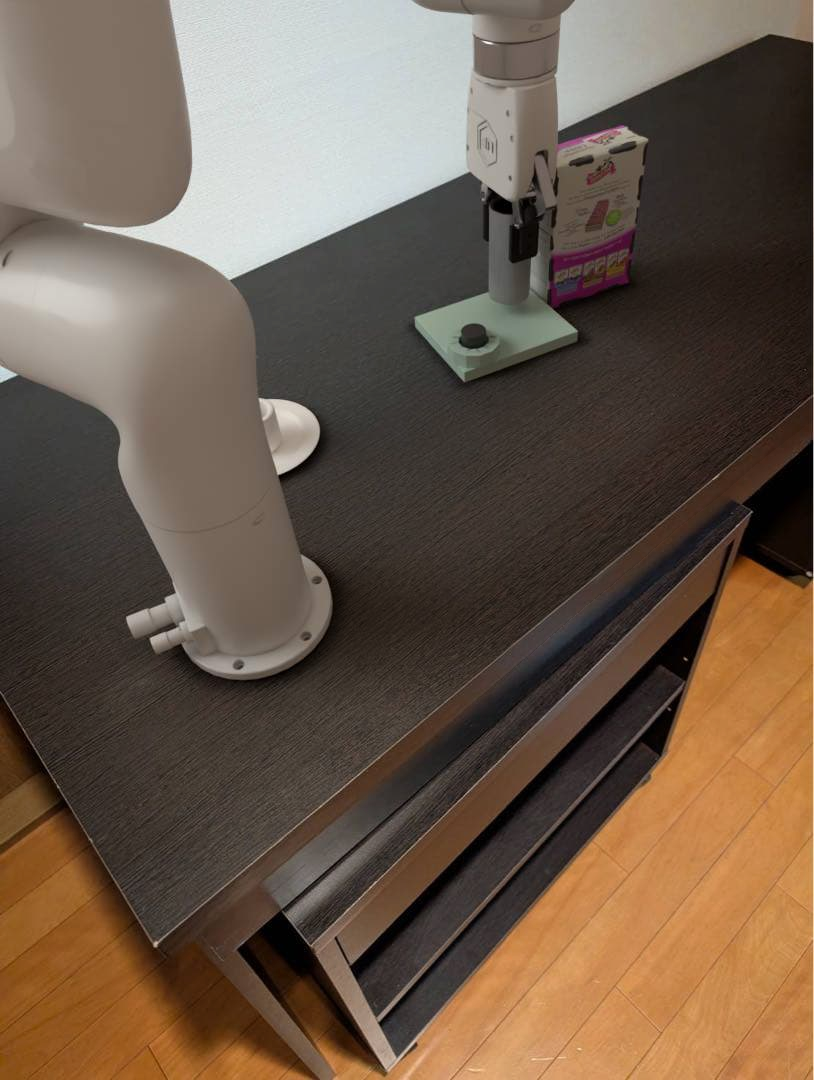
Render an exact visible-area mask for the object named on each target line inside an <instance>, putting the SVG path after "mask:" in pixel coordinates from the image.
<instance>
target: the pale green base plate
mask: <svg viewBox="0 0 814 1080" xmlns="http://www.w3.org/2000/svg"><path fill="white" fill-rule="evenodd" d="M472 323H477V324H481V325H483V326H484V327H485V328H486V344H485V346H484V347H481V348H478V349H468V348H465V347H463V346H462V344H461V329H462V328H463V327H464V326H465V325H467V324H472ZM414 327H415V329H416V330H417V331H418V332H419V333H420V334H421V336H422V337H423V338H425V340H426V341H427V342H428V343H429V344H430V346H431V347H432V348H433V349H434V350H435V352H437V354H439V356H440V357H441V358H442V359H443V360H444V361H445V362H446V364H447V365H448V366H449V367H450V368H451V369H452V370H453V371H454V373H456V375H457V376H458V377H459V378H460V379H461V380H462V382H463V383H468V382H471V381H472V380H475V379H479V378H480V377H483V376H486V375H489V374H492V373H495V372H497V371H500V370H503V369H505V368H508V367H512V366H513V365H517V364H520V363H522V362H524V361H528V360H530V359H533V358H535V357H539V356H541V355H544V354H546V353H549V352H552V351H554V350H557V349H561V348H562V347H563V348H564V347H565V346H568V345H571V344H574V343H577V342H578V335H579V331H578V330H577V329H576V327H574V326H573V325H572V324H570V323H569V322H568V321H567V320H566V319H565V318H564V317H562V315H560V314H559V313H558V312H557V311H556V310H554V309H552V308H551V307H550V306H549V305H547V304H546V303H545V302H544V301H543V300H542V299H541V298H539V297H538V296H537V295H536V294H535V293H534V292H533V291H531V290H530V292H529V296H528V298H527V299H526V300H524V301H523V302H521V303H518V304H513V305H504V304H499V303H496V302H494V301H493V300H492V299H491V298H490V297H489V291H487V292H484V293H482V294H479V295H475V296H473V297H469V298H467V299H464V300H460V301H458V302H454V303H452V304H449V305H447V306H444V307H440V308H437V309H434V310H430V311H428V312H426V313H422V314H418V315H416V316H414Z"/></svg>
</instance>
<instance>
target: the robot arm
mask: <svg viewBox="0 0 814 1080" xmlns="http://www.w3.org/2000/svg"><path fill="white" fill-rule="evenodd" d="M411 1H412V2H413V3H414V4H416V5H418V6H420V7H421V8H424V9H426V10H430V11H433V12H439V13H451V14H460V15H469V16H470V15H471V19H472V21H471V22H472V26H471V27H472V67H471V72H470V78H469V86H468V94H467V95H468V96H467V108H466V129H465V130H466V131H465V162H466V163H465V164H466V167H467V169H468V171H469V172H470V173H471V174H472V175H473V176H474V177H475V178H476V179H478V180H479V182H480V186H481V187H480V200H481V201H482V202H483V204H482V239H483V241H485V242H487V243H489V205H490V202H491V201H492V200H493V199H494V198H496V197H498V196H502V197H503V198H505V199H506V200H508V201H510V202H512V211H513V222H514V224H512V225H510V226H509V261H510V262H511V263H513V264H514V263H517V262H520V261H523V260H526V259H529V258H532V257H535V256H536V255H537V254H538V240H539V223H540V222H541V221H542V220H543V217H544V216H545V215H546V214H547V213H548V212H550V211H552V210H553V209H555V208H556V206H557V202H556V198H555V194H554V191H553V185H554V181H555V175H556V167H557V152H558V144H559V106H558V105H559V103H558V89H557V88H558V86H557V77H556V76H555V75H557V73H558V64H559V52H560V51H559V50H560V36H561V22H562V21H561V19H562V14H563V13H564V12H565V11H567V10H568V9H569V8H570V7H571V6H572V5H573V4H574V3H575V1H576V0H411ZM175 29H176V28H175V24H174V18H173V14H172V7H171V1H170V0H0V367H2V368H4V369H5V370H8V371H9V372H12V373H14V374H16V375H18V376H20V377H22V378H24V379H27V380H29V381H32V382H34V383H37V384H40V385H42V386H45V387H46V388H50V389H52V390H54V391H57V392H59V393H62V394H65V395H67V396H68V397H69V398H72V399H74V400H77V401H79V402H81V403H84V404H86V405H89V406H91V407H92V408H95V409H96V410H98V411H100V413H102V414H104V415H106V417H108V418H109V420H110V421H111V422H112V423H113V424H114V426H115V427H116V429H117V431H118V435H119V440H120V441H119V443H120V444H119V447H118V453H117V463H118V470H119V474H120V478H121V480H122V484H123V486H124V488H125V490H126V491H125V492H126V493H127V495H128V497H129V499H130V501H131V503H132V505H133V508H134V509H135V511H136V512H137V514H138V516H139V518H140V519H141V521H142V523H143V525H144V527H145V529H146V530H147V533H148V535H149V537H150V539H151V541H152V543H153V545H154V547H155V548H156V550H157V552H158V553H157V554H159V557H160V558H161V561H162V563H163V565H164V566H165V569H166V570H167V572H168V574H169V577H170V578H171V580H172V586H173V589H174V591H175V593H173V594H171V595H168V596H166V597H164V601H165V602H164V603H163V602H162V603H160V604H158V605H156V606H153V607H150V608H149V607H147V608H144V609H142V610H139V611H136V612H134V613H132V614H129V615H127V616H126V617H125V619H126V624H127V626H128V629H129V630H130V633H131V635H132V637H133V639H134V640H138V639H141V638H142V637H145V636H147V635H150V634H153V633H154V632H157V631H159V629H162V628H163V627H166V626H169V625H171V624H174V625H175V628H173V629H171V630H168V631H163V632H161V633H158V634H156V635H153V636H151V637H149V641H150V644H151V647H152V649H153V651H154V653H155V654H156V655H159V654H162V653H164V652H166V651H169V650H171V649H173V647H176V646H178V645H181V646H182V648H183V650H184V652H185V653H186V654H187V657H189V659H190V660H191V661H192V662H193V663H194V664H195V665H197V667H199V668H200V669H201V670H203V671H205V672H207V673H209V674H211V675H212V676H215V677H220V678H223V679H226V680H237V681H249V680H259V679H262V678H266V677H270V676H274V675H276V674H279V673H281V672H283V671H285V670H288V669H290V668H291V667H293V666H295V665H296V664H298V663H300V662H301V661H302V660H304V659H305V658H306V657H307V656H308V655H309V654H310V653H311V652H312V651H314V649H315V648H316V647H317V645H318V644H319V643H320V642H321V640H322V639H323V637H324V636H325V634H326V632H327V630H328V628H329V626H330V622H331V619H332V615H333V603H334V601H333V596H332V591H331V588H330V585H329V584H330V583H329V581H328V579H327V577H326V575H325V574H324V572H323V570H322V569H321V568H320V567H319V566H318V565H317V564H316V563H315V562H314V561H312V560H311V559H310V558H308V557H307V556H305V555H304V554H301V551H300V548H299V545H298V541H297V538H296V535H295V531H294V527H293V524H292V523H293V522H292V520H291V517H290V513H289V510H288V506H287V502H286V498H285V496H284V495H285V494H284V492H283V489H282V485H281V482H280V478H279V475H278V474H277V471H276V467H275V464H274V461H273V457H272V454H271V450H270V447H269V443H268V439H267V436H266V432H265V428H264V424H263V419H262V414H261V409H260V403H259V398H260V396H259V388H258V377H257V376H258V375H257V373H258V371H257V344H256V331H255V327H254V322H253V316H252V313H251V311H250V307H249V305H248V304H247V301H246V300H245V298H244V296H243V295H242V293H241V292H240V291H239V289H238V288H237V287H236V286H235V284H234V283H232V281H231V279H229V278H227V276H226V275H224V274H223V273H222V272H220V271H219V270H218V269H216V268H215V267H213V266H211V265H210V264H208V263H207V262H205V261H203V260H201V259H200V258H197V257H196V256H193V255H191V254H188V253H186V252H183V251H181V250H178V249H175V248H172V247H170V246H166V245H163V244H159V243H155V242H152V241H148V240H143V239H140V238H136V237H132V236H129V235H126V234H121V233H117V232H113V231H106V230H102V229H99V228H95V227H92V226H98V227H99V226H100V227H108V228H109V227H110V228H120V229H121V228H135V227H141V226H143V227H144V226H147V225H151V224H154V223H156V222H158V221H160V220H162V219H164V218H165V217H167V216H169V215H170V214H171V213H172V212H174V211H175V210H176V208H177V207H179V205H180V203H181V202H182V200H183V198H184V197H185V194H186V193H187V191H188V189H189V186H190V183H191V176H192V171H193V145H192V129H191V121H190V113H189V106H188V100H187V92H186V87H185V82H184V77H183V70H182V65H181V64H182V63H181V59H180V54H179V48H178V42H177V35H176V30H175ZM530 186H531V187H530ZM528 198H531V202H532V205H529V206H528V207H527V208H526V209H525V210H524V211H523V203H522V200H525V199H528ZM85 224H88V225H92V226H87V225H85Z"/></svg>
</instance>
